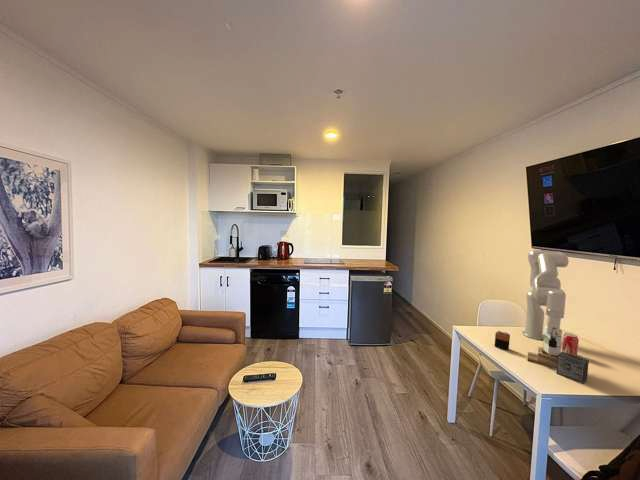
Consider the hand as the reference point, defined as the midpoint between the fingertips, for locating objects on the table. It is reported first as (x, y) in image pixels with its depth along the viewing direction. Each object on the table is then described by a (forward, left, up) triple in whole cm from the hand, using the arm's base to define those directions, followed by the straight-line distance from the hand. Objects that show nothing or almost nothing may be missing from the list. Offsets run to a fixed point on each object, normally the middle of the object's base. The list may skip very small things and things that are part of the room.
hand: (552, 344), depth 149 cm
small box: (+10, +8, -11) cm, 17 cm away
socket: (0, 0, -11) cm, 11 cm away
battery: (-4, -23, -11) cm, 26 cm away
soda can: (-22, +9, -11) cm, 26 cm away
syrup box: (0, 0, -5) cm, 5 cm away
